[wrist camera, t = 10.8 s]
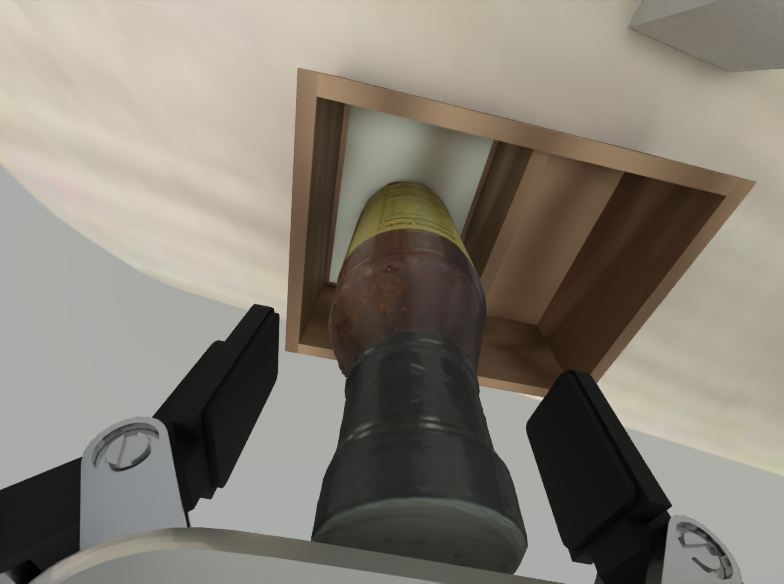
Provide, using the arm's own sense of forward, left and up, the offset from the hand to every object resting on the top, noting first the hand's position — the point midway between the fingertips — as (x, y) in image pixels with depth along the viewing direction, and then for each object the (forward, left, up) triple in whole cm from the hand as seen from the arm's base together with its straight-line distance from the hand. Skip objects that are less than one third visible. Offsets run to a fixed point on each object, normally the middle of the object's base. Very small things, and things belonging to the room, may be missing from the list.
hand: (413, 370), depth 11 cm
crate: (-4, 0, -15) cm, 16 cm away
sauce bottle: (0, 0, -15) cm, 15 cm away
